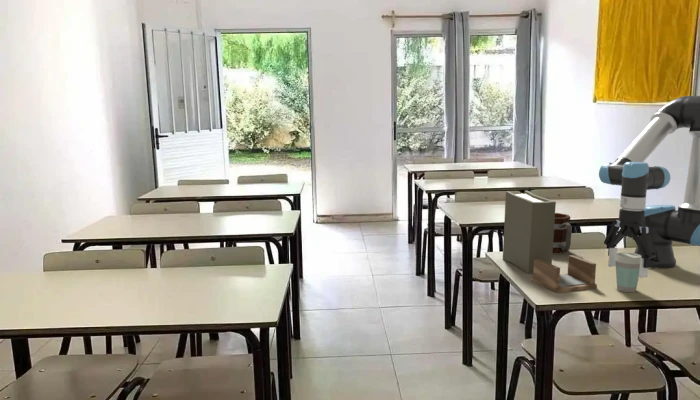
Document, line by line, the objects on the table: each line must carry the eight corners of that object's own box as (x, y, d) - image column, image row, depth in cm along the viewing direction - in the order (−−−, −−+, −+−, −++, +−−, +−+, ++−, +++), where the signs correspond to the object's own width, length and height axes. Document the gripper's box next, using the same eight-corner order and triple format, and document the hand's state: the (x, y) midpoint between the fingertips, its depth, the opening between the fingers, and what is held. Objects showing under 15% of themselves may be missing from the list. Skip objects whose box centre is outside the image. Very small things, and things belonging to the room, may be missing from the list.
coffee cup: (643, 294, 189) (646, 259, 187) (616, 293, 191) (618, 257, 189) (636, 286, 198) (639, 252, 196) (609, 285, 199) (612, 251, 197)
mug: (530, 246, 254) (531, 213, 251) (558, 245, 256) (560, 212, 254) (553, 258, 235) (555, 222, 232) (583, 256, 237) (585, 220, 235)
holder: (569, 276, 210) (570, 254, 208) (596, 287, 197) (598, 264, 195) (531, 281, 205) (532, 258, 203) (556, 292, 192) (558, 269, 190)
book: (552, 274, 215) (557, 200, 210) (529, 275, 213) (533, 201, 208) (523, 258, 236) (527, 190, 230) (502, 259, 234) (505, 191, 228)
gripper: (595, 203, 200) (591, 263, 204) (653, 216, 177) (647, 282, 180) (613, 202, 203) (608, 261, 206) (672, 214, 179) (666, 280, 183)
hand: (627, 271), depth 193 cm, fingers open, 13 cm apart
